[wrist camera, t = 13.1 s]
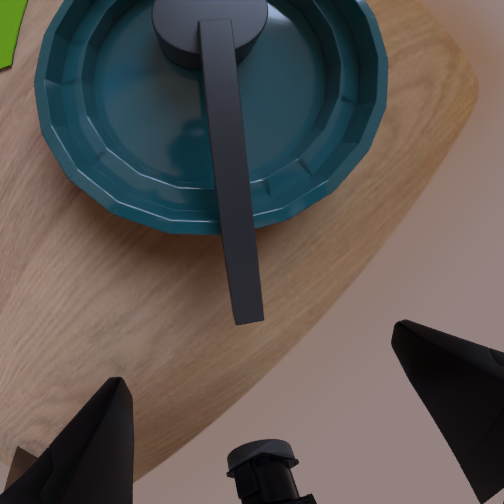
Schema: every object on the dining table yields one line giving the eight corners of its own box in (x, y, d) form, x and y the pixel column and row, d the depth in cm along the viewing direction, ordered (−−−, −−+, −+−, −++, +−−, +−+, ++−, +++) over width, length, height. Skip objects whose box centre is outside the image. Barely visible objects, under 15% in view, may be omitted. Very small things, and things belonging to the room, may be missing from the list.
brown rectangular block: (59, 469, 22) (48, 535, 12) (51, 479, 23) (41, 537, 13) (17, 446, 20) (-1, 511, 10) (13, 458, 20) (-2, 515, 11)
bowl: (390, 81, 14) (433, 72, 10) (226, 267, 16) (235, 303, 13) (207, -68, 9) (212, -105, 5) (24, 110, 11) (-16, 106, 7)
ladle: (156, -1, 10) (147, -41, 6) (252, -9, 11) (268, -48, 7) (190, 293, 15) (189, 333, 12) (283, 277, 16) (308, 311, 12)
